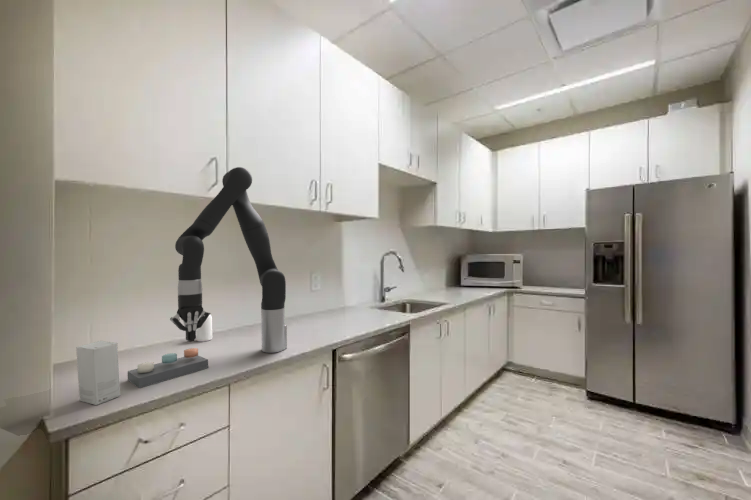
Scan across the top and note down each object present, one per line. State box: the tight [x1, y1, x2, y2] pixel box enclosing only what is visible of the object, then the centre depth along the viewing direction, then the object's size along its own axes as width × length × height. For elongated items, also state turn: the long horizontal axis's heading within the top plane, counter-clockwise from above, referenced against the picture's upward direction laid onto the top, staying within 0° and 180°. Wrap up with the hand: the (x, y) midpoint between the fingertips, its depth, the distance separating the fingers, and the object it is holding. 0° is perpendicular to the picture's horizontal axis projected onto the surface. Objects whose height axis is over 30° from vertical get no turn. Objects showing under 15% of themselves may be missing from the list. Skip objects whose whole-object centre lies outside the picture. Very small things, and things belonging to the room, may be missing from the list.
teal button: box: [161, 352, 178, 364], centre depth 114 cm, size 4×4×2 cm
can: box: [196, 312, 213, 343], centre depth 155 cm, size 6×6×12 cm
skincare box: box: [75, 340, 121, 406], centre depth 96 cm, size 8×7×16 cm
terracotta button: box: [183, 347, 199, 358], centre depth 120 cm, size 4×4×2 cm
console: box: [127, 355, 209, 389], centre depth 114 cm, size 21×10×3 cm, turn 143°
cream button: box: [136, 361, 155, 373], centre depth 109 cm, size 4×4×2 cm
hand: (190, 341), depth 120 cm, fingers closed
